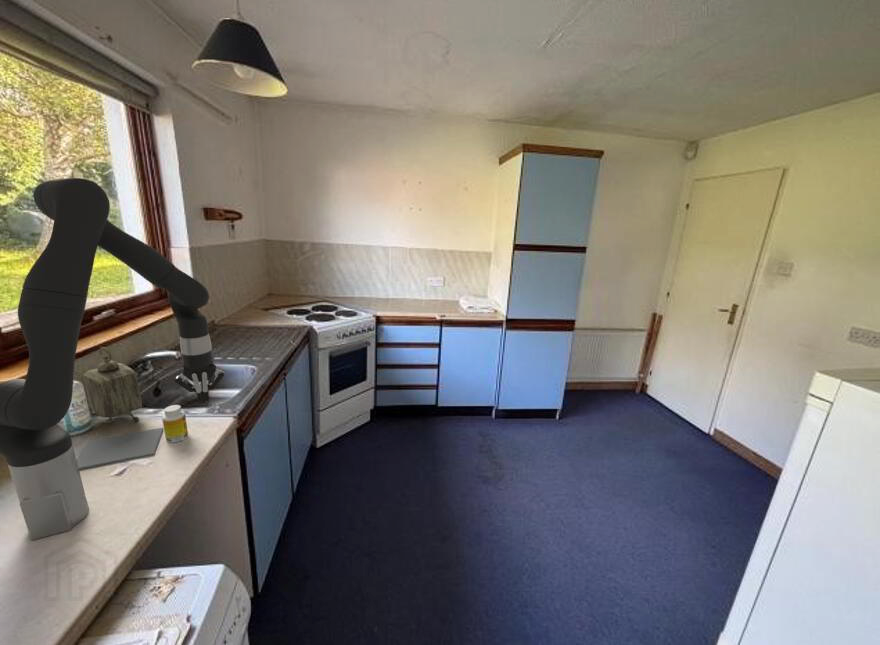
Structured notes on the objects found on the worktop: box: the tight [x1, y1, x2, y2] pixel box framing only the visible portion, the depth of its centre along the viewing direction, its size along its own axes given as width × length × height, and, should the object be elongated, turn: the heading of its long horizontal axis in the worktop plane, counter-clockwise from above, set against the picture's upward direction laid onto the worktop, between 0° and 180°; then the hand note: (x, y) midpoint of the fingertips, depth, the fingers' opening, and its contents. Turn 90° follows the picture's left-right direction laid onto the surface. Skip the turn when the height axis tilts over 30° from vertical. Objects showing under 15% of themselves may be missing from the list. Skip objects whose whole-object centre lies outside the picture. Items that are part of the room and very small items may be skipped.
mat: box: [76, 427, 164, 471], centre depth 104 cm, size 14×18×1 cm
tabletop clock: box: [81, 346, 143, 425], centre depth 114 cm, size 14×9×25 cm, turn 61°
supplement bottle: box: [161, 404, 189, 444], centre depth 109 cm, size 6×6×10 cm
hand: (204, 401), depth 111 cm, fingers closed
